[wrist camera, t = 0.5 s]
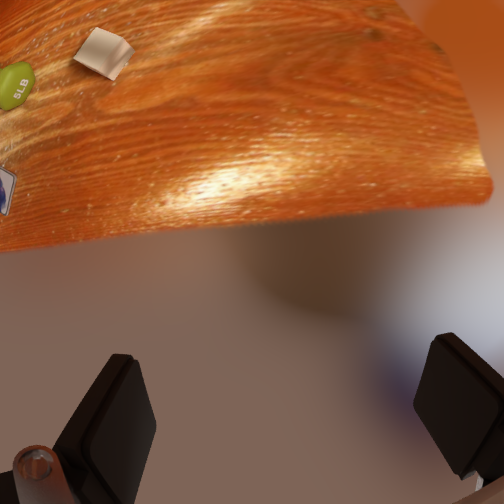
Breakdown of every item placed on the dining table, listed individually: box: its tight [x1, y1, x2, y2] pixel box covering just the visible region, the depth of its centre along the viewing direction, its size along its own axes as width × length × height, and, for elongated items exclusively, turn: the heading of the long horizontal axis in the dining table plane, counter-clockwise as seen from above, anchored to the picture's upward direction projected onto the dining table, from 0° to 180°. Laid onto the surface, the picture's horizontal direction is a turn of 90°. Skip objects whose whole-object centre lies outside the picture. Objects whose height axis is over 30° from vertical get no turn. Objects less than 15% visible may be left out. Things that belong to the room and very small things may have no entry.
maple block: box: [73, 27, 135, 81], centre depth 29 cm, size 5×5×5 cm
